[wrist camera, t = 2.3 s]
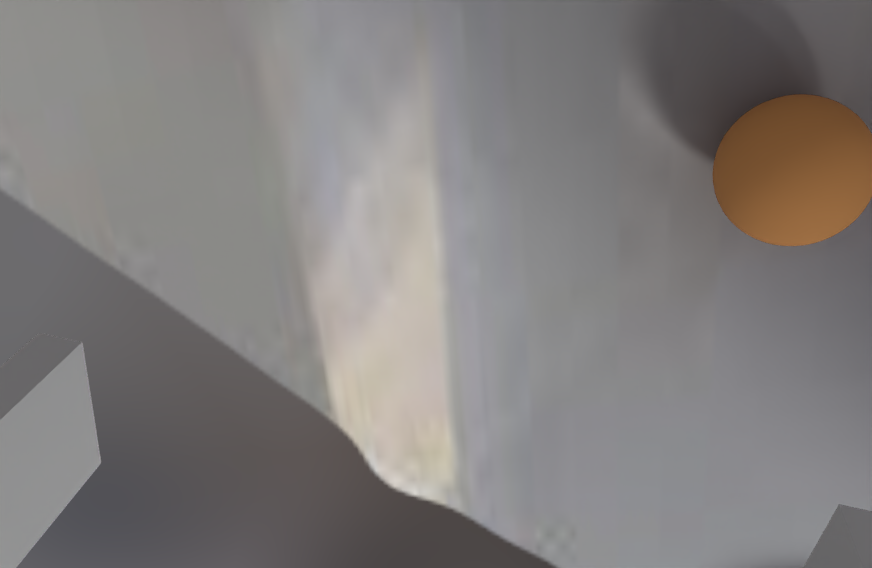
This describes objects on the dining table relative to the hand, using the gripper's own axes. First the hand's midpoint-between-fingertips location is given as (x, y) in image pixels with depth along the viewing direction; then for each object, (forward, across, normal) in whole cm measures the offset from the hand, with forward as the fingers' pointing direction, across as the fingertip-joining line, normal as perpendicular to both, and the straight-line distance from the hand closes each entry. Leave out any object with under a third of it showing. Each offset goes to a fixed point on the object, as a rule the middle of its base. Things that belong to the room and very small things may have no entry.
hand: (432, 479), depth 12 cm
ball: (+19, -10, 0) cm, 21 cm away
